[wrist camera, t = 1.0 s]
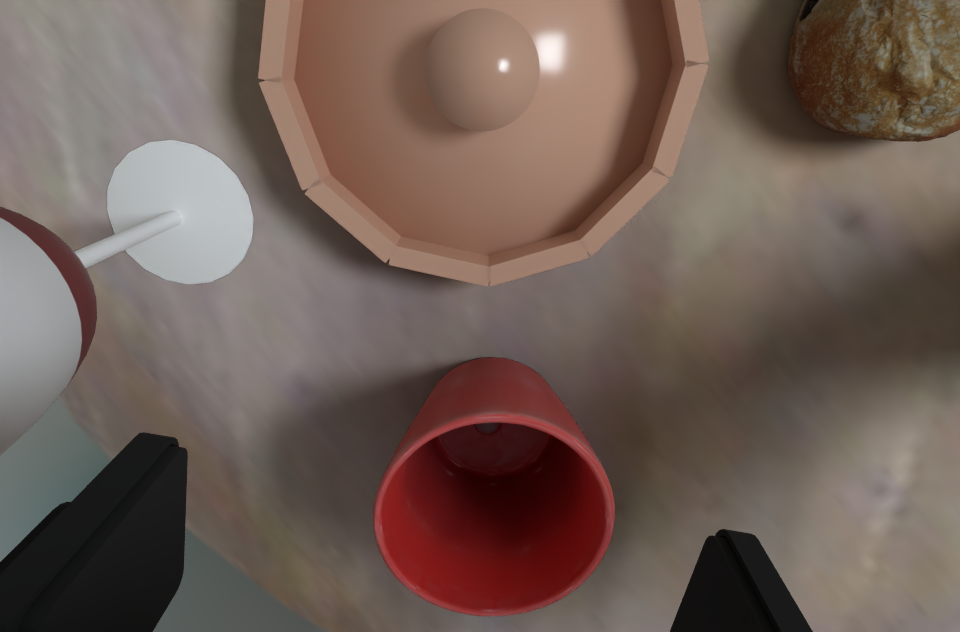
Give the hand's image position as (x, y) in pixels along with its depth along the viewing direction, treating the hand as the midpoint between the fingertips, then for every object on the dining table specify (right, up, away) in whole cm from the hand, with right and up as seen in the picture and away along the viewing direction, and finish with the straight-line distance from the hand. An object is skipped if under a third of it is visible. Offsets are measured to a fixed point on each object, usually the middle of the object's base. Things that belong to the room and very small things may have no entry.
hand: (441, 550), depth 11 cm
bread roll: (+20, +18, +19) cm, 33 cm away
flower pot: (+1, -2, +26) cm, 26 cm away
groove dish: (+1, +16, +19) cm, 25 cm away
